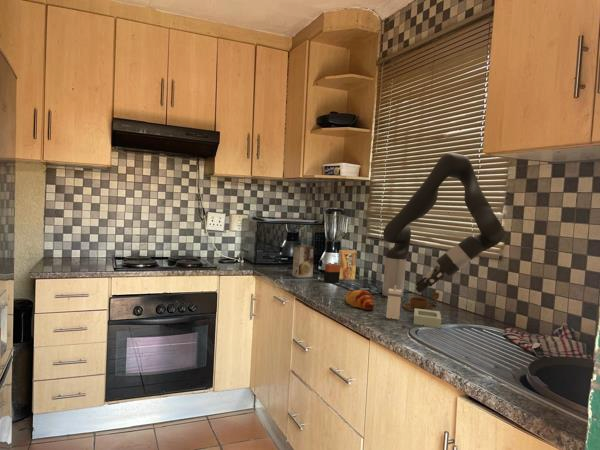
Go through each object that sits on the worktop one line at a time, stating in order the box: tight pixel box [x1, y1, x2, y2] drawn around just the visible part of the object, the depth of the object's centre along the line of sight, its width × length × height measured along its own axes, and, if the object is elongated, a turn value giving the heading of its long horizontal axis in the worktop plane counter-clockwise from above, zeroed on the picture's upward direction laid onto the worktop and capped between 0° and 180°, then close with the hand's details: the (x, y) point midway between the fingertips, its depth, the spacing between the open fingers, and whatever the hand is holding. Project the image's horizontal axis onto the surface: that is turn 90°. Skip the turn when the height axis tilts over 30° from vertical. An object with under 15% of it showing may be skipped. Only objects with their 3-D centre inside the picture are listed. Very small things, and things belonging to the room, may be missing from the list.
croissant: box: [345, 289, 375, 311], centre depth 178 cm, size 21×10×8 cm, turn 21°
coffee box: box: [292, 245, 315, 278], centre depth 234 cm, size 9×6×16 cm
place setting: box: [403, 291, 440, 313], centre depth 179 cm, size 18×20×6 cm
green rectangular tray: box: [413, 308, 443, 329], centre depth 160 cm, size 12×9×3 cm
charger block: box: [385, 285, 402, 320], centre depth 162 cm, size 5×5×12 cm
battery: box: [323, 262, 340, 284], centre depth 224 cm, size 4×7×10 cm, turn 113°
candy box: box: [337, 249, 358, 281], centre depth 237 cm, size 9×4×15 cm, turn 107°
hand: (417, 288), depth 160 cm, fingers open, 8 cm apart
